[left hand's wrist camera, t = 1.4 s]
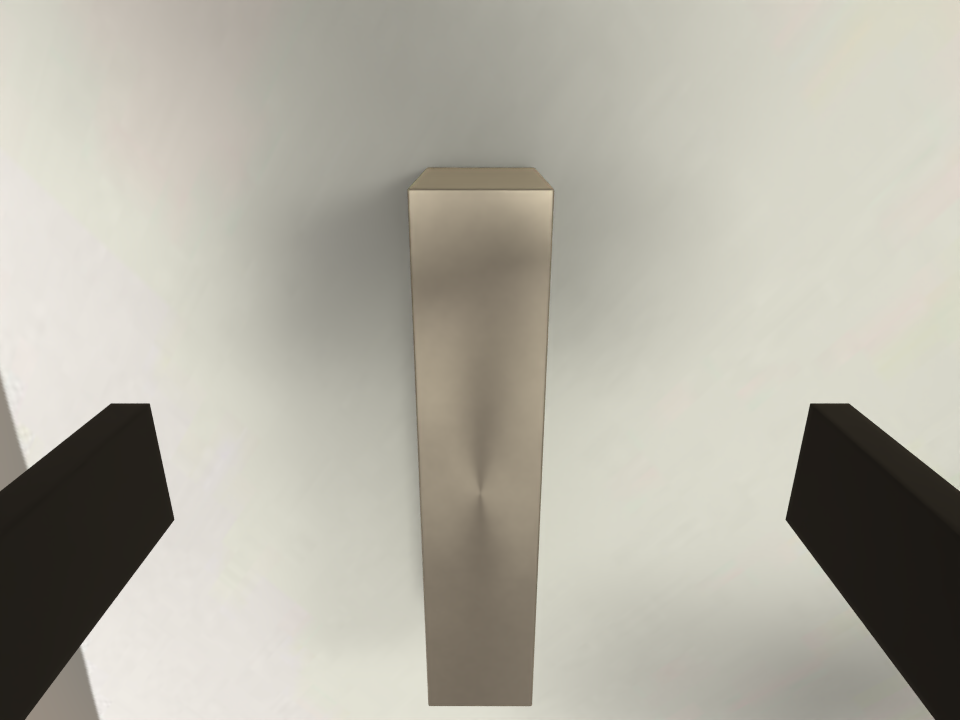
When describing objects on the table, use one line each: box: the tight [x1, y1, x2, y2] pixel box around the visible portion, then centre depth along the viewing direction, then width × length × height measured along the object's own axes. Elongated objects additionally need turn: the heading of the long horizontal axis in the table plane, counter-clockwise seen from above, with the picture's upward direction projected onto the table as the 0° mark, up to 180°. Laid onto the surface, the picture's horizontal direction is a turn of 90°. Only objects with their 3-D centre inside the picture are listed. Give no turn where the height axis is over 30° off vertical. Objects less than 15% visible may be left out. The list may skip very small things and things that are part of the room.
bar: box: [407, 168, 554, 706], centre depth 31 cm, size 25×5×8 cm, turn 0°
